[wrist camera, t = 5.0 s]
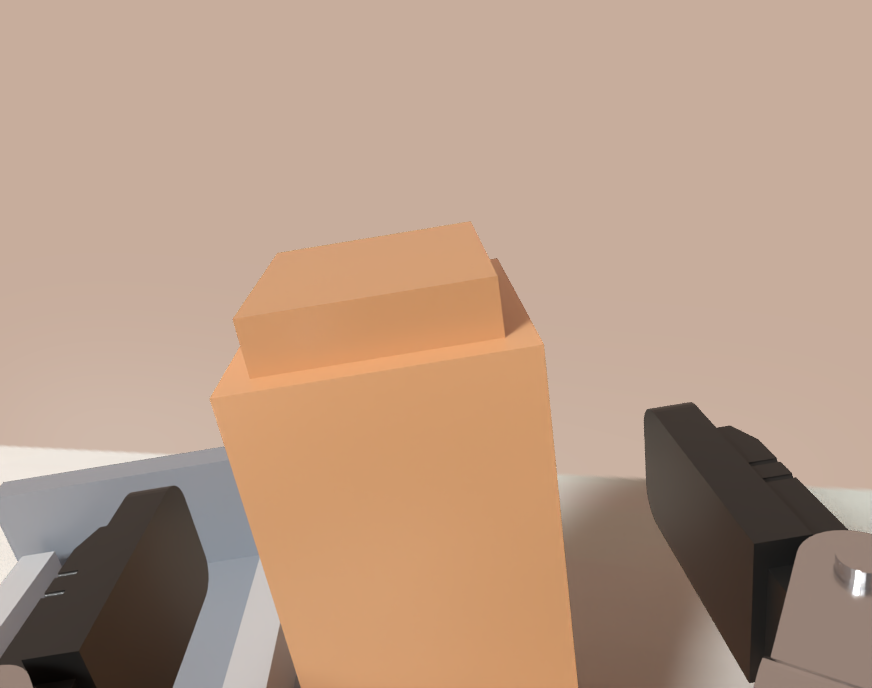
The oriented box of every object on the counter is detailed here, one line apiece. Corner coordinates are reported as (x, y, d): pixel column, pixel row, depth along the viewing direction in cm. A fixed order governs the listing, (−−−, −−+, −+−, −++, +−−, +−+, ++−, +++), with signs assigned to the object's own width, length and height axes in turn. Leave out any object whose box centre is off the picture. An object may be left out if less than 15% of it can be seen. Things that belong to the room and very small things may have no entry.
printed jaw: (548, 677, 15) (491, 212, 11) (596, 870, 12) (536, 279, 8) (376, 705, 15) (258, 251, 11) (369, 905, 12) (189, 336, 8)
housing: (345, 557, 20) (313, 431, 19) (307, 907, 12) (242, 732, 10) (60, 603, 20) (3, 482, 19) (-183, 983, 12) (-328, 823, 10)
